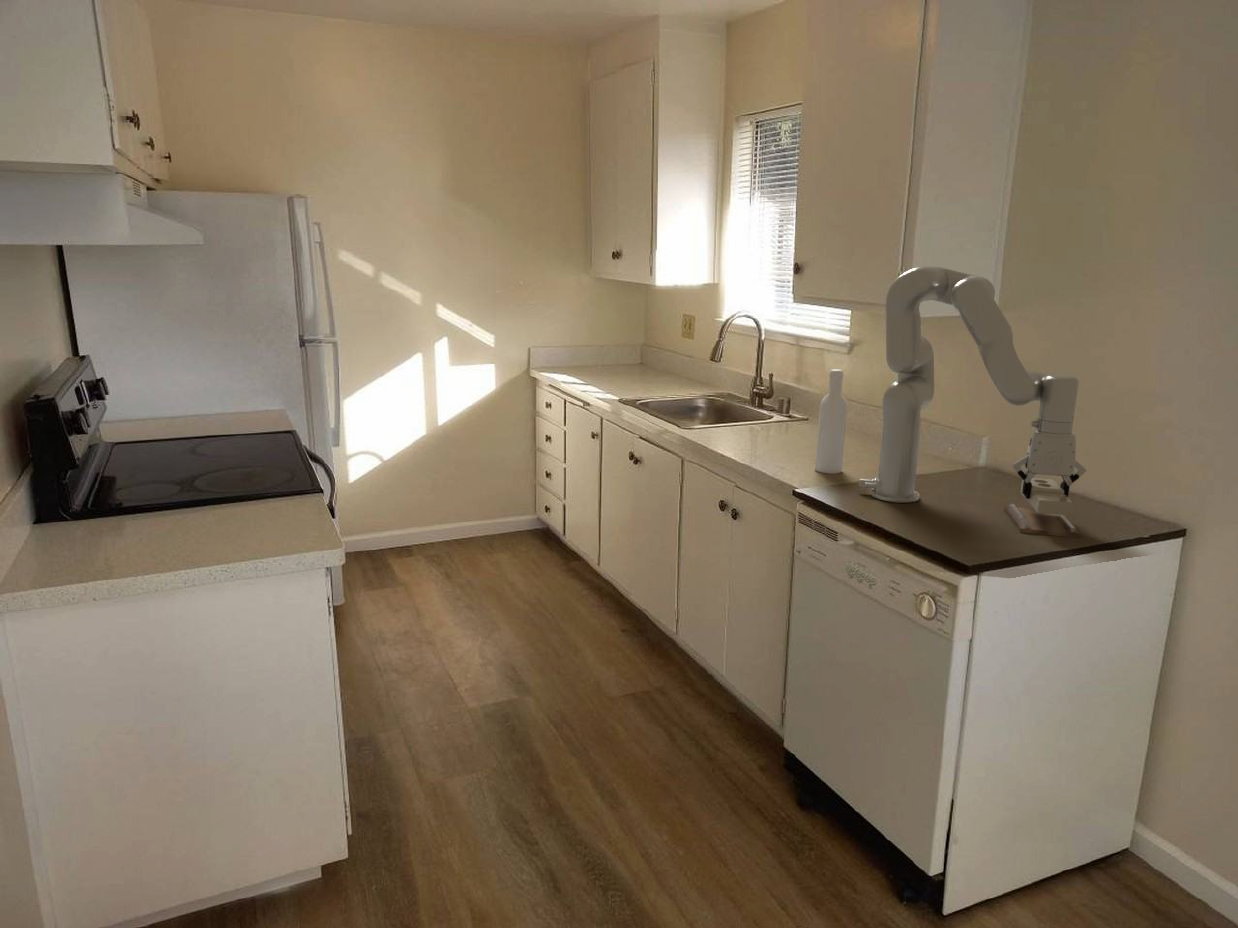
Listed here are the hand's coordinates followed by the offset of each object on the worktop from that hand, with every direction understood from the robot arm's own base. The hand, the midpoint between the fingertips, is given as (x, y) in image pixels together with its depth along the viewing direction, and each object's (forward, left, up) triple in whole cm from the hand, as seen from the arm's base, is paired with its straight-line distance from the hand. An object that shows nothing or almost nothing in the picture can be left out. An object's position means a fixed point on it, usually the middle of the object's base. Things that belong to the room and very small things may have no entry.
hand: (1044, 498), depth 209 cm
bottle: (-50, +37, -7) cm, 63 cm away
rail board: (0, 0, -6) cm, 6 cm away
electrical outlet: (0, -1, -1) cm, 2 cm away
